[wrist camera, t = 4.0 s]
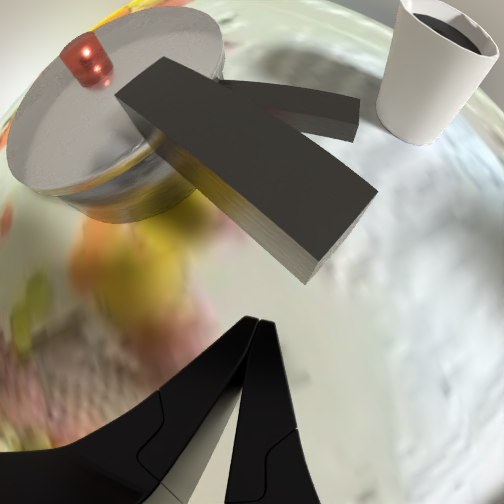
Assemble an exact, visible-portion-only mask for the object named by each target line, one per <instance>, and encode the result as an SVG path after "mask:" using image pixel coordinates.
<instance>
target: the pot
mask: <svg viewBox="0 0 504 504" xmlns="http://www.w3.org/2000/svg"><path fill="white" fill-rule="evenodd" d="M218 83H219V84H221V85H223V86H225V87H227V88H229V89H230V90H232V91H234V92H236V93H238V94H239V95H241V96H243V97H244V98H246V99H248V100H250V101H251V102H253V103H255V104H256V105H258V106H260V107H261V108H263V109H265V110H266V111H268V112H269V113H271V114H273V115H274V116H276V117H277V118H279V119H281V120H282V121H284V122H285V123H287V124H288V125H290V126H291V127H293V128H294V129H296V130H297V131H299V132H303V133H309V134H314V135H319V136H324V137H329V138H334V139H339V140H343V141H348V142H352V143H353V141H354V138H355V135H356V132H357V129H358V126H359V108H360V99H357V98H353V97H349V96H344V95H339V94H335V93H330V92H324V91H319V90H313V89H307V88H301V87H294V86H287V85H279V84H271V83H261V82H250V81H237V80H224V78H223V74H222V73H221V76H220V78H219V81H218ZM195 189H197V188H195V187H194V186H193V185H192V184H191V183H190V182H189V181H187V180H186V179H185V178H184V177H183V176H182V175H181V174H179V173H178V172H177V171H176V170H175V169H174V168H173V167H171V166H170V165H169V164H168V163H167V162H166V161H165V160H163V159H162V158H161V157H160V156H159V155H158V154H157V153H155V152H153V153H152V154H150V155H149V156H148V157H146V158H145V159H143V160H142V161H141V162H139V163H138V164H136V165H135V166H133V167H131V168H130V169H128V170H126V171H125V172H123V173H122V174H120V175H118V176H116V177H114V178H112V179H110V180H108V181H107V182H105V183H103V184H100V185H98V186H95V187H93V188H90V189H88V190H85V191H81V192H78V193H74V194H70V195H62V196H57V197H59V198H60V199H62V200H64V201H65V202H67V203H68V204H70V205H71V206H73V207H74V208H76V209H78V210H79V211H81V212H82V213H84V214H86V215H87V216H89V217H91V218H93V219H95V220H98V221H101V222H105V223H113V224H121V223H131V222H137V221H140V220H144V219H147V218H150V217H153V216H155V215H157V214H159V213H162V212H164V211H166V210H167V209H169V208H171V207H173V206H174V205H176V204H178V203H179V202H180V201H182V200H183V199H185V198H186V197H187V196H189V195H190V194H191V193H192V192H193V191H194V190H195Z"/></svg>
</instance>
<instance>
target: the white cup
mask: <svg viewBox="0 0 504 504" xmlns="http://www.w3.org/2000/svg"><path fill="white" fill-rule="evenodd" d="M498 57H499V50H498V47H497V45H496V44H495V42H494V41H493V39H492V38H491V37H490V36H489V35H488V33H487V32H486V31H484V29H483V28H481V27H480V26H479V25H478V24H477V23H476V22H474V21H473V20H472V19H470V18H469V17H468V16H466V15H465V14H463V13H462V12H460V11H458V10H457V9H455V8H453V7H451V6H449V5H448V4H446V3H443V2H441V1H438V0H400V4H399V9H398V14H397V19H396V24H395V28H394V33H393V38H392V42H391V46H390V51H389V55H388V59H387V63H386V67H385V71H384V75H383V79H382V83H381V87H380V90H379V94H378V98H377V101H376V111H377V115H378V117H379V119H380V120H381V122H382V124H383V125H384V126H385V127H386V128H387V129H388V130H389V131H390V132H391V133H392V134H393V135H394V136H396V137H398V138H400V139H401V140H403V141H405V142H407V143H411V144H415V145H419V146H422V145H430V144H432V143H433V142H434V141H435V140H437V139H438V137H439V136H440V135H441V134H442V132H443V131H444V130H445V129H446V127H447V126H448V125H449V124H450V122H451V121H452V120H453V119H454V117H455V116H456V115H457V113H458V112H459V111H460V110H461V108H462V107H463V106H464V104H465V103H466V102H467V100H468V99H469V98H470V96H471V95H472V94H473V92H474V91H475V90H476V88H477V87H478V86H479V84H480V83H481V82H482V80H483V79H484V77H485V76H486V75H487V73H488V72H489V70H490V69H491V67H492V66H493V65H494V63H495V62H496V60H497V59H498Z"/></svg>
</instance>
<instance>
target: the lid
mask: <svg viewBox="0 0 504 504" xmlns="http://www.w3.org/2000/svg"><path fill="white" fill-rule="evenodd" d="M224 62H225V47H224V43H223V39H222V34H221V31H220V28H219V26H218V24H217V23H216V22H215V20H214V19H213V18H211V17H210V16H209V15H208V14H206V13H204V12H202V11H199V10H196V9H193V8H187V7H177V6H168V7H157V8H150V9H146V10H141V11H138V12H134V13H131V14H128V15H125V16H122V17H120V18H117V19H115V20H113V21H110V22H108V23H106V24H104V25H102V26H100V27H99V28H97V29H95V30H93V31H91V32H86V33H84V34H82V35H80V36H78V37H77V38H75V39H74V40H72V41H71V42H70V43H69V44H68V45H66V47H65V48H64V49H63V50H62V52H61V53H60V55H59V56H58V57H57V58H56V59H55V60H54V61H53V62H52V63H51V64H50V65H49V66H48V67H47V68H46V69H45V70H44V71H43V72H42V74H41V75H40V76H39V77H38V78H37V80H36V81H35V82H34V84H33V85H32V86H31V88H30V89H29V91H28V92H27V94H26V95H25V97H24V98H23V100H22V102H21V104H20V106H19V108H18V110H17V112H16V114H15V116H14V119H13V121H12V124H11V127H10V131H9V135H8V140H7V149H6V151H7V162H8V166H9V169H10V171H11V173H12V175H13V176H14V177H15V178H16V179H17V180H18V181H19V182H21V183H23V184H24V185H26V186H27V187H29V188H30V189H32V190H34V191H35V192H37V193H40V194H44V195H49V196H62V195H70V194H74V193H78V192H81V191H85V190H88V189H90V188H93V187H95V186H98V185H100V184H103V183H105V182H107V181H108V180H110V179H112V178H114V177H116V176H118V175H120V174H122V173H123V172H125V171H126V170H128V169H130V168H131V167H133V166H135V165H136V164H138V163H139V162H141V161H142V160H143V159H145V158H146V157H148V156H149V155H150V154H152V153H153V152H155V153H157V154H158V155H159V156H160V157H161V158H162V159H163V160H165V161H166V162H167V163H168V164H169V165H170V166H171V167H173V168H174V169H175V170H176V171H177V172H178V173H179V174H181V175H182V176H183V177H184V178H185V179H186V180H187V181H189V182H190V183H191V184H192V185H193V186H194V187H195V188H197V189H198V190H199V191H200V192H201V193H202V194H203V195H205V196H206V197H207V198H208V199H209V200H210V201H211V202H212V203H214V204H215V205H216V206H217V207H218V208H219V209H220V210H222V211H223V212H224V213H225V214H226V215H227V216H228V217H229V218H231V219H232V220H233V221H234V222H235V223H236V224H237V225H238V226H240V227H241V228H242V229H243V230H244V231H245V232H246V233H247V234H249V235H250V236H251V237H252V238H253V239H254V240H255V241H256V242H258V243H259V244H260V245H261V246H262V247H263V248H264V249H265V250H266V251H268V252H269V253H270V254H271V255H272V256H273V257H274V258H275V259H277V260H278V261H279V262H280V263H281V264H282V265H283V266H284V267H285V268H287V269H288V270H289V271H290V272H291V273H292V274H293V275H294V276H295V277H297V278H298V279H299V280H300V281H301V282H302V283H303V284H304V285H306V284H307V283H308V281H309V280H310V279H311V278H312V277H313V276H314V275H315V274H316V272H317V271H318V270H319V269H320V268H321V267H322V266H323V265H324V263H325V262H326V261H327V260H328V259H329V258H330V257H331V255H332V254H333V253H334V252H335V251H336V250H337V248H338V247H339V246H340V245H341V244H342V243H343V241H344V240H345V239H346V238H347V237H348V235H349V234H350V232H351V231H352V229H353V228H354V227H355V225H356V224H357V222H358V221H359V219H360V218H361V217H362V215H363V214H364V212H365V211H366V209H367V208H368V206H369V205H370V203H371V202H372V200H373V199H374V197H375V196H376V194H377V193H378V191H377V190H376V189H375V188H374V187H373V186H371V185H370V184H369V183H368V182H366V181H365V180H364V179H363V178H361V177H360V176H359V175H358V174H356V173H355V172H354V171H353V170H351V169H350V168H349V167H347V166H346V165H345V164H343V163H342V162H341V161H339V160H338V159H337V158H335V157H334V156H333V155H331V154H330V153H329V152H327V151H326V150H325V149H323V148H322V147H320V146H319V145H318V144H316V143H315V142H313V141H312V140H310V139H309V138H308V137H306V136H305V135H303V134H302V133H300V132H299V131H297V130H296V129H294V128H293V127H291V126H290V125H288V124H287V123H285V122H284V121H282V120H281V119H279V118H277V117H276V116H274V115H273V114H271V113H269V112H268V111H266V110H265V109H263V108H261V107H260V106H258V105H256V104H255V103H253V102H251V101H250V100H248V99H246V98H244V97H243V96H241V95H239V94H238V93H236V92H234V91H232V90H230V89H229V88H227V87H225V86H223V85H221V84H219V83H218V81H219V78H220V76H221V73H222V71H223V67H224Z"/></svg>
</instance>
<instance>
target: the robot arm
mask: <svg viewBox="0 0 504 504" xmlns="http://www.w3.org/2000/svg"><path fill="white" fill-rule="evenodd" d="M241 391H242V395H241V401H240V408H239V414H238V420H237V427H236V433H235V439H234V446H233V452H232V458H231V464H230V470H229V477H228V483H227V489H226V495H225V501H224V504H321V503H320V500H319V498H318V495H317V492H316V490H315V487H314V484H313V482H312V479H311V476H310V473H309V470H308V467H307V464H306V461H305V457H304V453H303V449H302V445H301V441H300V436H299V431H298V429H296V428H297V422H296V418H295V413H294V408H293V403H292V399H291V394H290V389H289V385H288V380H287V375H286V371H285V366H284V361H283V357H282V352H281V347H280V343H279V338H278V334H277V329H276V325H275V323H274V322H273V321H268V320H264V319H261V320H259V319H258V318H255V317H251V316H244V317H243V318H242V319H240V320H239V321H238V322H237V323H236V324H235V325H234V326H232V327H231V328H230V329H229V330H228V331H227V332H226V333H224V334H223V335H222V336H221V337H220V338H219V339H217V340H216V341H215V342H214V343H213V344H212V345H210V346H209V347H208V348H207V349H206V350H205V351H203V352H202V353H201V354H200V355H199V356H197V357H196V358H195V359H194V360H193V361H191V362H190V363H189V364H188V365H187V366H186V367H184V368H183V369H182V370H181V371H179V372H178V373H177V374H176V375H175V376H173V377H172V378H171V379H170V380H169V381H167V382H166V383H165V384H164V385H162V386H161V387H160V388H159V390H156V391H155V392H154V393H152V394H151V395H150V396H149V397H147V398H146V399H145V400H143V401H142V402H141V403H139V404H138V405H137V406H135V407H134V408H132V409H131V410H129V411H128V412H126V413H125V414H123V415H122V416H120V417H118V418H117V419H115V420H113V421H112V422H110V423H108V424H106V425H105V426H103V427H101V428H99V429H98V430H96V431H94V432H92V433H90V434H88V435H87V436H85V437H83V438H81V439H79V440H77V441H75V442H73V443H71V444H68V445H66V446H62V447H59V448H54V449H46V450H34V451H19V452H0V504H187V503H188V501H189V499H190V497H191V495H192V493H193V491H194V489H195V487H196V485H197V483H198V481H199V480H200V478H201V476H202V474H203V472H204V470H205V468H206V466H207V464H208V462H209V460H210V458H211V456H212V453H213V451H214V449H215V447H216V445H217V443H218V441H219V439H220V437H221V435H222V433H223V431H224V429H225V426H226V424H227V422H228V420H229V418H230V416H231V414H232V411H233V409H234V407H235V405H236V403H237V401H238V398H239V396H240V394H241Z"/></svg>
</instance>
